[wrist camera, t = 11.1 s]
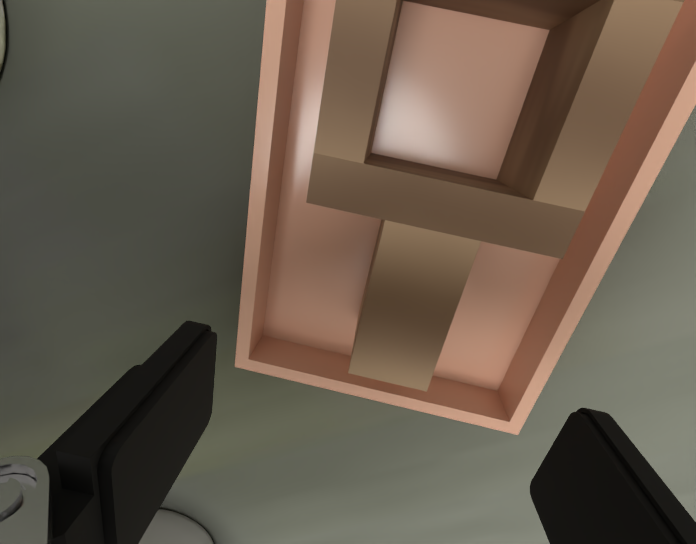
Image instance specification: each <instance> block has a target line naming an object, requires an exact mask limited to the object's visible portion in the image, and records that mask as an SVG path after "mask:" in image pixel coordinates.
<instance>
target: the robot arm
mask: <svg viewBox="0 0 696 544" xmlns="http://www.w3.org/2000/svg"><path fill="white" fill-rule="evenodd" d="M216 344H217V334H216V333H215V332H211V327H210V326H209V325H206V324H201V323H197V322H192V321H186V322H185V323H184V324H183V325H181V326H180V327H179V328H178V329H177V330H176V331H175V332H174V333H173V334H172V335H171V336H170V337H169V338H168V339H167V340H166V341H165V342H164V343H163V344H162V345H161V346H160V347H159V348H158V349H157V350H156V351H155V352H154V353H153V354H152V355H151V356H150V357H149V358H148V359H147V360H146V361H145V362H144V363H143V364H142V365H136V366H134V367H132V368H131V369H130V370H129V371H127V372H126V373H125V374H124V375H123V376H122V377H121V378H120V379H119V380H118V381H117V382H116V383H115V384H114V385H113V386H112V387H111V388H110V389H109V390H108V391H107V392H106V393H105V394H104V395H103V396H102V397H101V398H100V399H98V400H97V401H96V402H95V403H94V404H93V405H92V406H91V407H90V408H89V409H88V410H87V411H86V412H85V413H84V414H83V415H82V416H81V417H80V418H79V419H78V420H77V421H76V422H75V423H74V424H73V425H72V426H71V427H69V428H68V429H67V430H66V431H65V432H64V433H63V434H62V435H61V436H60V437H59V438H58V439H57V440H56V441H55V442H54V443H53V444H52V445H51V446H50V447H49V448H48V449H47V450H46V451H45V452H44V453H43V454H42V455H40V456H39V457H38V458H37V459H34V458H31V457H28V456H11V457H6V458H1V459H0V544H139V542H140V540H141V538H142V537H143V535H144V533H145V532H146V530H147V528H148V526H149V525H150V523H151V521H152V519H153V518H154V516H155V514H156V513H157V511H158V509H159V507H160V506H161V504H162V502H163V501H164V499H165V497H166V495H167V494H168V492H169V490H170V489H171V487H172V485H173V483H174V482H175V480H176V478H177V477H178V475H179V473H180V471H181V470H182V468H183V466H184V464H185V463H186V461H187V459H188V458H189V456H190V454H191V452H192V451H193V449H194V447H195V446H196V444H197V442H198V440H199V439H200V437H201V435H202V434H203V432H204V430H205V428H206V427H207V425H208V423H209V420H210V417H211V413H212V403H213V388H214V374H215V359H216ZM530 494H531V498H532V500H533V503H534V505H535V508H536V510H537V513H538V515H539V518H540V520H541V523H542V525H543V528H544V530H545V532H546V535H547V537H548V540H549V542H550V544H696V522H695V521H694V520H693V518H692V517H691V516H690V515H689V513H688V512H687V511H686V510H685V508H684V507H683V506H682V505H681V503H680V502H679V501H678V500H677V498H676V497H675V496H674V495H673V493H672V492H671V491H670V489H669V488H668V487H667V486H666V484H665V483H664V482H663V481H662V479H661V478H660V477H659V476H658V474H657V473H656V472H655V471H654V469H653V468H652V467H651V466H650V464H649V463H648V462H647V461H646V459H645V458H644V457H643V456H642V454H641V453H640V452H639V451H638V449H637V448H636V447H635V445H634V444H633V443H632V442H631V440H630V439H629V438H628V437H627V435H626V434H625V433H624V432H623V430H622V429H621V428H620V427H619V425H618V424H617V423H616V422H615V420H614V419H613V418H612V417H611V416H610V415H609V414H607V413H605V412H601V411H596V410H591V409H587V408H580V409H578V410H577V411H576V412H573V413H571V414H570V416H569V417H568V419H567V421H566V422H565V424H564V426H563V428H562V429H561V431H560V433H559V434H558V436H557V438H556V440H555V441H554V443H553V445H552V447H551V448H550V450H549V452H548V453H547V455H546V457H545V459H544V460H543V462H542V464H541V466H540V467H539V469H538V471H537V472H536V474H535V476H534V478H533V479H532V481H531V484H530Z"/></svg>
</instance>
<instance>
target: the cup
mask: <svg viewBox="0 0 696 544" xmlns="http://www.w3.org/2000/svg"><path fill="white" fill-rule="evenodd" d="M139 544H213V541H212V539H211V537H210V535H209V534H208V533H207V532H206V530H205V529H204V528H203V527H201V526H200V525H199V524H198V523H197V522H195V521H193V520H192V519H190V518H188V517H186V516H184V515H181V514H179V513H176V512H173V511H168V510H164V509H158V511H157V513H156V514H155V516H154V518H153V519H152V521H151V523H150V525H149V526H148V528H147V530H146V532H145V533H144V535H143V537H142V538H141V540H140V542H139Z"/></svg>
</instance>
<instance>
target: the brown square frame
mask: <svg viewBox="0 0 696 544" xmlns="http://www.w3.org/2000/svg"><path fill="white" fill-rule="evenodd" d="M403 1H407V2H412V3H417V4H422V5H427V6H432V7H437V8H442V9H447V10H452V11H457V12H462V13H467V14H472V15H477V16H482V17H487V18H492V19H497V20H502V21H506V22H511V23H516V24H521V25H526V26H531V27H536V28H541V29H546V30H549V33H548V36H547V39H546V41H545V44H544V47H543V50H542V53H541V56H540V58H539V61H538V64H537V67H536V70H535V72H534V75H533V78H532V81H531V84H530V87H529V89H528V92H527V95H526V98H525V101H524V103H523V106H522V109H521V112H520V115H519V117H518V120H517V123H516V126H515V129H514V132H513V134H512V137H511V140H510V143H509V146H508V148H507V151H506V154H505V157H504V160H503V163H502V165H501V168H500V171H499V174H498V177H497V179H496V180H495V179H491V178H486V177H481V176H477V175H472V174H467V173H463V172H458V171H453V170H449V169H444V168H439V167H435V166H430V165H425V164H421V163H416V162H411V161H407V160H402V159H398V158H393V157H388V156H384V155H379V154H374V153H371V151H372V146H373V141H374V136H375V132H376V127H377V122H378V117H379V113H380V108H381V103H382V98H383V93H384V89H385V84H386V79H387V74H388V70H389V65H390V60H391V55H392V50H393V46H394V41H395V36H396V31H397V27H398V22H399V17H400V12H401V8H402V3H403ZM683 2H684V0H336V3H335V10H334V17H333V23H332V30H331V37H330V44H329V51H328V57H327V64H326V71H325V78H324V85H323V91H322V98H321V105H320V112H319V119H318V125H317V132H316V139H315V146H314V152H313V159H312V166H311V173H310V180H309V186H308V193H307V200H306V203H310V204H314V205H319V206H323V207H328V208H333V209H337V210H342V211H346V212H351V213H355V214H360V215H364V216H369V217H373V218H378V219H381V223H380V227H379V231H378V236H377V240H376V244H375V248H374V252H373V257H372V261H371V265H370V269H369V273H368V278H367V282H366V286H365V290H364V294H363V299H362V303H361V307H360V311H359V316H358V320H357V325H356V331H355V337H354V342H353V348H352V353H351V359H350V365H349V370H348V373H350V374H354V375H358V376H362V377H367V378H371V379H375V380H379V381H384V382H388V383H392V384H397V385H401V386H405V387H409V388H414V389H418V390H422V391H426V392H427V389H428V386H429V384H430V381H431V378H432V375H433V373H434V370H435V367H436V364H437V362H438V359H439V356H440V353H441V351H442V348H443V345H444V342H445V340H446V337H447V334H448V331H449V329H450V326H451V323H452V320H453V318H454V315H455V312H456V309H457V307H458V304H459V301H460V298H461V296H462V293H463V290H464V287H465V285H466V282H467V279H468V276H469V274H470V271H471V268H472V265H473V263H474V260H475V257H476V254H477V252H478V249H479V246H480V243H481V241H482V242H487V243H491V244H496V245H500V246H505V247H509V248H514V249H519V250H523V251H528V252H532V253H537V254H541V255H546V256H550V257H555V258H559V259H563V257H564V255H565V253H566V251H567V249H568V247H569V245H570V242H571V240H572V238H573V236H574V234H575V232H576V230H577V228H578V225H579V223H580V221H581V219H582V217H583V215H584V213H585V211H586V208H587V206H588V204H589V202H590V200H591V198H592V196H593V194H594V191H595V189H596V187H597V185H598V183H599V181H600V179H601V177H602V174H603V172H604V170H605V168H606V166H607V164H608V162H609V160H610V157H611V155H612V153H613V151H614V149H615V147H616V145H617V143H618V140H619V138H620V136H621V134H622V132H623V130H624V128H625V126H626V123H627V121H628V119H629V117H630V115H631V113H632V111H633V109H634V106H635V104H636V102H637V100H638V98H639V96H640V94H641V92H642V89H643V87H644V85H645V83H646V81H647V79H648V77H649V75H650V72H651V70H652V68H653V66H654V64H655V62H656V60H657V58H658V55H659V53H660V51H661V49H662V47H663V45H664V43H665V41H666V38H667V36H668V34H669V32H670V30H671V28H672V26H673V24H674V21H675V19H676V17H677V15H678V13H679V11H680V9H681V7H682V4H683Z"/></svg>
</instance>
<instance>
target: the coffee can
mask: <svg viewBox="0 0 696 544" xmlns="http://www.w3.org/2000/svg"><path fill="white" fill-rule="evenodd" d="M5 49H6V25H5V14H4V6H3V1H2V0H0V72H1V68H2V65H3V60H4V56H5Z"/></svg>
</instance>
